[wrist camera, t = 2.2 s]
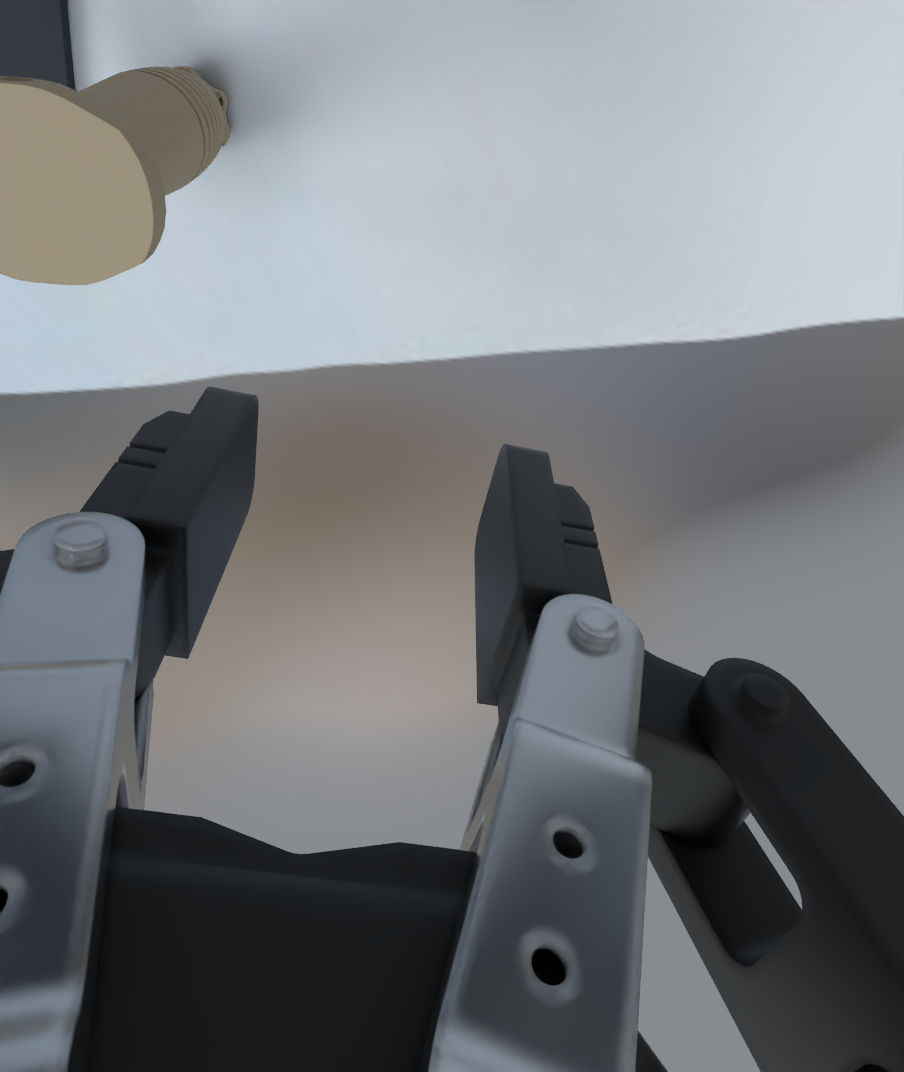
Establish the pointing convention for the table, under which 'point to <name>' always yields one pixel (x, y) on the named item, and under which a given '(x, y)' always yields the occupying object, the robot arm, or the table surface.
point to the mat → (36, 40)
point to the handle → (98, 168)
